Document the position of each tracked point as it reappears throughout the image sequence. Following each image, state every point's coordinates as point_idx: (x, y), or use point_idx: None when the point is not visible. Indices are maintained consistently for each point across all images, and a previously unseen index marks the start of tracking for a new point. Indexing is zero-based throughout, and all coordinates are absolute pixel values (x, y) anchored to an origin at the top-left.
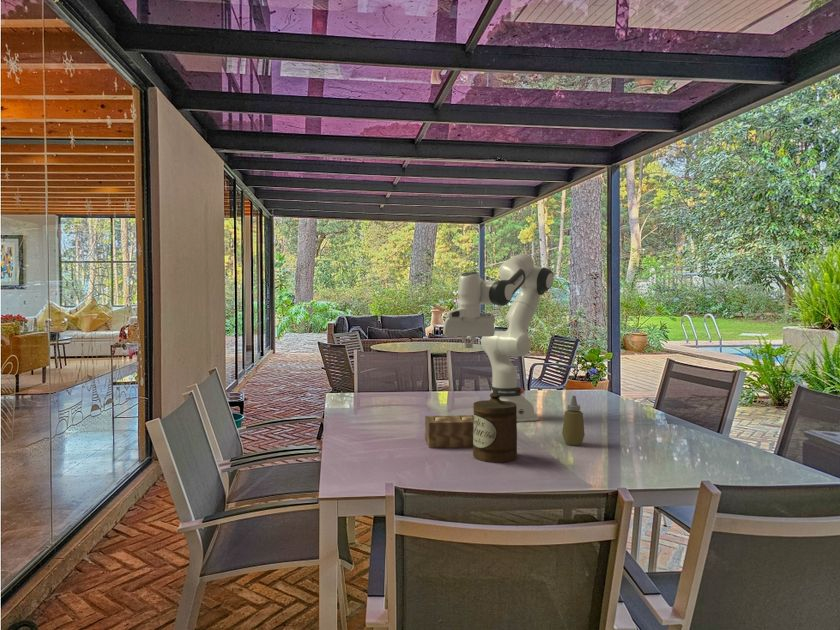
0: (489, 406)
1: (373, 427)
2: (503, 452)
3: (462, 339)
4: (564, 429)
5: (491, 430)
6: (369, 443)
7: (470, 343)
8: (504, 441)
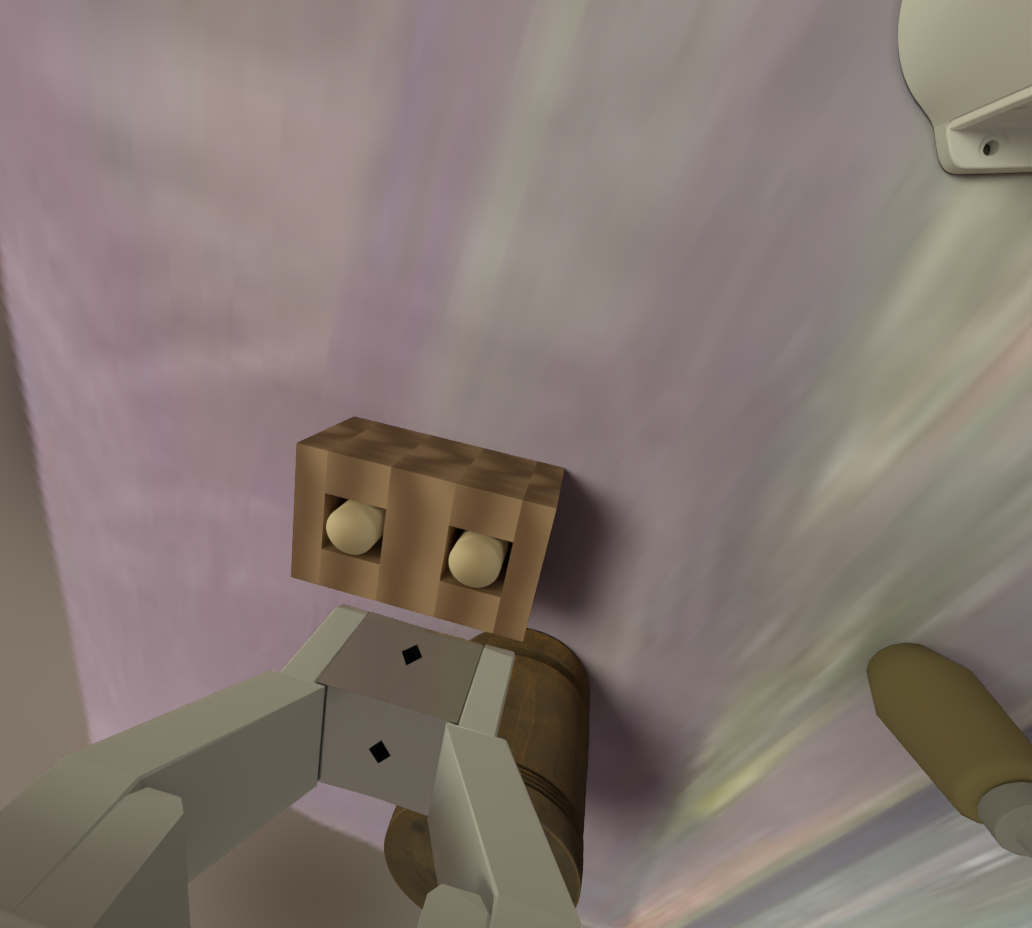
0: None
1: (154, 104)
2: None
3: (98, 782)
4: (892, 712)
5: None
6: (151, 406)
7: (425, 778)
8: None
